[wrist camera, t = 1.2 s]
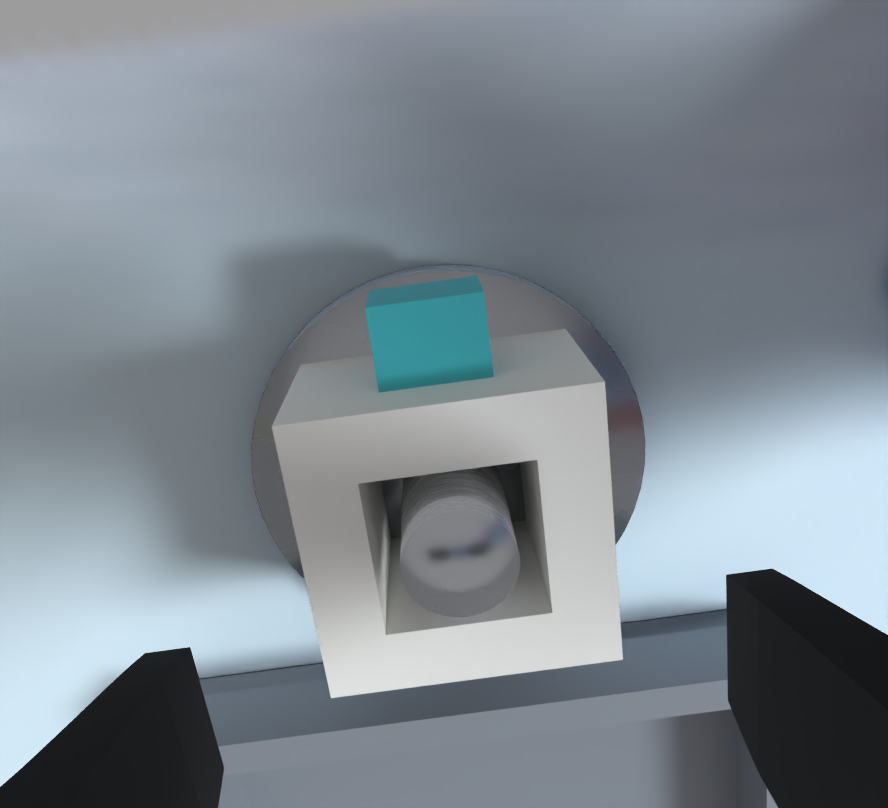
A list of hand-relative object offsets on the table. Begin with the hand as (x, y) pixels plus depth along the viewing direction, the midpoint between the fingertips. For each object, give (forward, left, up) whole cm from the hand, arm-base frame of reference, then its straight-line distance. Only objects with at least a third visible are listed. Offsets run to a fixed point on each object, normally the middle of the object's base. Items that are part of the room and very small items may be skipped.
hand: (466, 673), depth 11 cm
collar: (0, 0, -7) cm, 7 cm away
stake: (0, 0, -8) cm, 8 cm away
